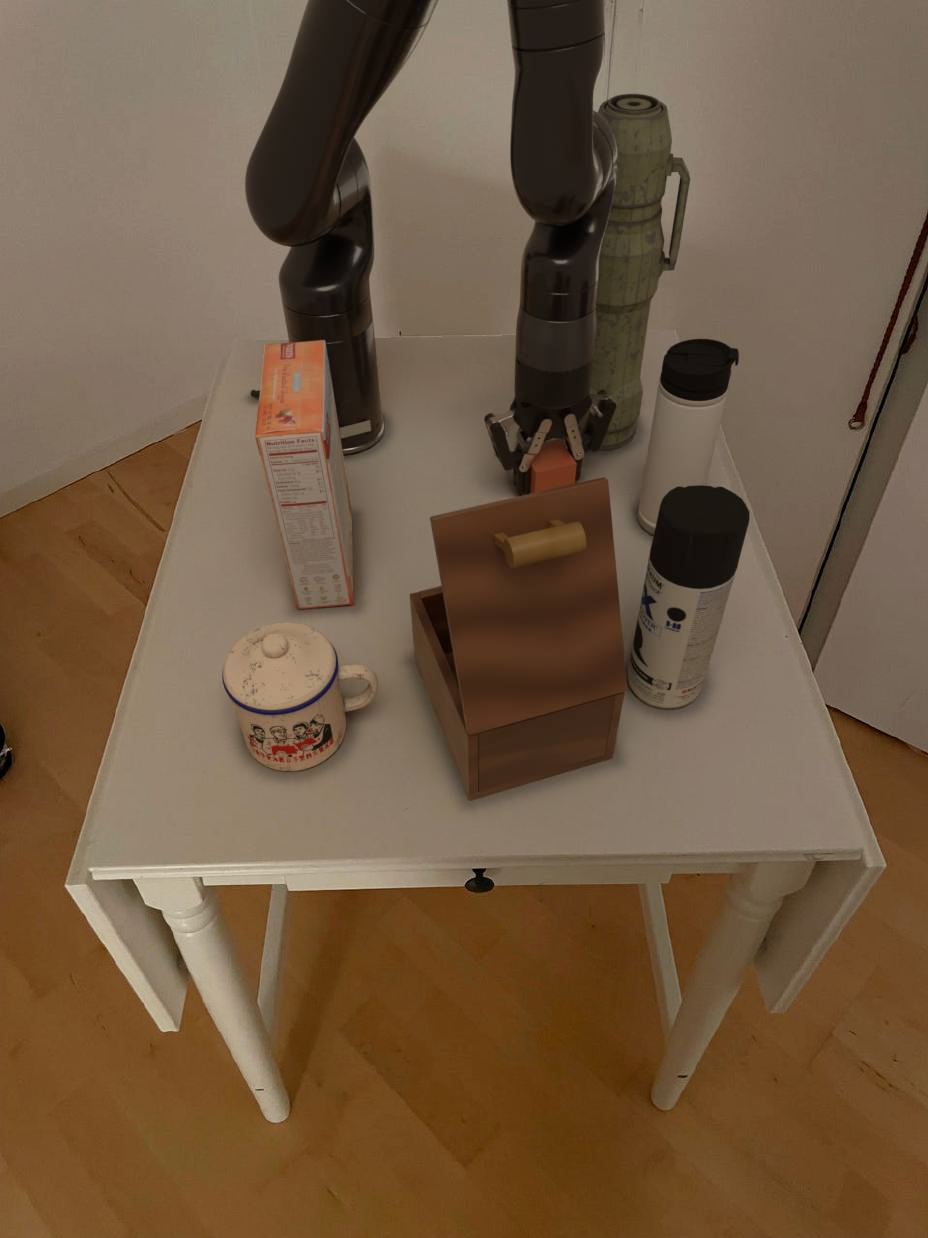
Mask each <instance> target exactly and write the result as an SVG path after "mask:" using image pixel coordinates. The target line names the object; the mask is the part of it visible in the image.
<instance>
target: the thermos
mask: <svg viewBox="0 0 928 1238" xmlns="http://www.w3.org/2000/svg"><path fill="white" fill-rule="evenodd" d="M597 112H598V113H599V114H600V115H602V116H603V117H604V118H605V119H606V120H607V122H608V123H609V124H610V126H611V127H612V129H613V131H614V134H615V137H616V140H617V145H618V155H619V162H618V174H617V181H616V187H615V192H614V197H613V201H612V206H611V210H610V215H609V219H608V223H607V227H606V231H605V235H604V239H603V243H602V248H601V254H600V270H599V283H598V293H597V303H596V319H597V329H596V344H595V350H594V360H593V370H592V380H591V389H590V392H589V393H590V394H597V393H598V392H599V391H600V390H606V392H607V393H608V394H609V395H610V397H611V398H612V399H613V401H614V402H615V403H616V405H617V406H616V409H615V412H614V414H613V417H612V419H611V422H610V424H609V427H608V429H607V432H606V434H605V437H604V439H603V442H602V444H601V447H600V449H599V450H598V451H601V452H602V451H604V452H605V451H612V450H618V449H620V448H622V447H625V446H627V445H628V444H629V443H630V442H631V441H633V439H634V437H635V435H636V432H637V421H638V419H639V416H640V415H641V407H642V401H643V396H644V395H643V394H644V391H643V382H642V379H641V374H642V366H643V359H644V352H645V346H646V340H647V339H646V338H647V332H648V323H649V318H650V311H651V310H650V309H651V304H652V303H651V302H652V300H653V298H654V296H655V294H656V292H657V291H658V288H659V287H658V286H659V279H660V278H661V277H662V275H663V273H664V272H666V271H667V272H669V271H675V268H676V264H677V261H678V258H679V257H678V256H679V252H680V245H681V241H682V233H683V229H684V228H683V226H684V221H685V214H686V208H687V202H688V195H689V190H690V184H691V177H690V176H691V175H690V171H689V169H688V167H687V165H686V163H685V160H684V158H683V157H678V156H677V157H675V156H674V153H671V152H672V151H671V150H672V143H673V137H672V130H671V129H672V128H671V123H670V118H669V117H670V116H669V111H668V107H667V105H666V104H665V103H664V102H663V101H660V100H659V99H658V98H657V97H654V96H652V95H648V94H643V93H623V94H618V95H614V96H612V97H610V98H609V99H606V100H605V101H603V102H602V103H601V104H600V105H599V108H598V111H597ZM673 173H678V175H679V183H678V188H677V189H678V190H677V194H676V195H677V196H676V203H675V210H674V215H673V221H672V229H671V235H670V242H669V249H668V250H669V251H668V257H666V254H665V251H664V246H665V237H664V231H663V226H662V215H663V206H662V202H663V201H662V199H663V198H664V196H665V194H666V187H667V181H668V177H672V174H673ZM589 413H590V410H588V411H587V413H586V414H585V415H584V417H583V418H582V419H581V420H580V422H579V423H578V424H577V425H578V429H579V432H580V435H581V434H582V431H583V429H584V426H585V423H586V421H587V418H588V415H589Z"/></svg>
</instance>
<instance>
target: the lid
mask: <svg viewBox="0 0 928 1238" xmlns="http://www.w3.org/2000/svg"><path fill="white" fill-rule="evenodd" d="M611 506H612V505H611V494H610V484H609V479H608V478H607V477H605V476H601V477H596V478H593V479H588V480H585V481H584V480H583V481H579V482H576V483H575V484H571V485H566V486H562V487H557V488H553V489H549V490H544V491H540V492H536V493H531V494H527V495H523V496H522V495H518V496H514V497H511V498H505V499H501V500H497V501H492V502H488V503H484V504H480V505H475V506H470V507H466V508H462V509H457V510H453V511H449V512H445V513H440V514H436V515H432V516H430V517H429V522H430V528H431V532H432V533H431V534H432V538H433V545H434V551H435V555H436V562H437V568H438V574H439V580H440V586H442V592H443V597H444V603H445V609H446V615H447V621H448V627H449V632H450V638H451V644H452V650H453V656H454V661H455V667H456V673H457V679H458V685H459V690H460V696H461V702H462V708H463V714H464V720H465V725H466V731H467V732H468V734H469V735H473V734H476V733H480V732H483V731H487V730H491V729H494V728H498V727H501V726H505V725H508V724H512V723H515V722H519V721H522V720H526V719H530V718H533V717H537V716H540V715H544V714H547V713H551V712H554V711H558V710H561V709H565V708H568V707H572V706H576V705H579V704H583V703H586V702H590V701H593V700H597V699H600V698H604V697H607V696H611V695H614V694H618V693H622V692H624V693H625V692H627V691H628V682H627V681H628V680H627V671H626V660H625V650H624V639H623V628H622V626H623V625H622V617H621V616H622V615H621V605H620V595H619V583H618V573H617V562H616V561H617V560H616V549H615V539H614V529H613V518H612V517H613V516H612V510H611V509H612V507H611Z"/></svg>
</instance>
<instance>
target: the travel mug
mask: <svg viewBox="0 0 928 1238" xmlns="http://www.w3.org/2000/svg"><path fill="white" fill-rule="evenodd" d="M739 353H740V352H739V349H738V348H736V347H731V346H729V345H728V344H726V343H725V342H723V341H720V340H715V339H711V338H693V339H687V340H683V341H679V342H677V343H674V344H673V345H672V346H670V347H669V348H668V350H666V353H665V354H664V356H663V360H662V367H661V372H660V375H659V380H658V386H657V392H656V393H657V394H656V398H655V404H654V409H653V410H654V411H653V418H652V423H651V428H650V434H649V435H650V436H649V441H648V447H647V453H646V460H645V464H644V465H645V466H644V472H643V478H642V485H641V491H640V497H639V504H638V509H637V521H638V523H639V525H640V527H641V528H642V529H643V530H644V531H645V532H646V533H648V534H651V535H652V536H654V532H655V527H656V523H657V518H658V513H659V508H660V504H661V501H662V499H663V498H664V496H665V495H666V494H667V493H668V492H669V491H670V490H672V489H674V488H676V487H677V486H682V487H684V488H685V487H687V486H697V485H703V486H707V483H708V480H709V476H710V475H709V474H710V472H711V471H710V470H711V466H712V462H713V458H714V453H715V449H716V444H717V440H718V435H719V431H720V427H721V423H722V417H723V414H724V409H725V405H726V400H727V395H728V392H729V386H730V380H731V376H732V367H733V364H734V366H736V367H737V366H738V365H739V361H740V360H739V359H740V354H739Z"/></svg>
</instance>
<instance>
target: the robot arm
mask: <svg viewBox="0 0 928 1238" xmlns="http://www.w3.org/2000/svg"><path fill="white" fill-rule="evenodd" d="M439 1H440V0H307V2H306V6H305V8H304V12H303V15H302V18H301V21H300V23H299V24H300V25H299V27H298V31H297V34H296V37H295V41H294V44H293V47H292V51H291V55H290V59H289V62H288V65H287V68H286V70H285V75H284V78H283V80H282V83H281V85H280V86H281V87H280V89H279V91H278V93H277V95H276V99H275V100H274V103H273V105H272V107H271V110H270V112H269V115H268V116H267V119H266V121H265V123H264V126H263V127H262V130H261V132H260V134H259V136H258V138H257V141H256V143H255V145H254V147H253V149H252V151H251V154H250V157H249V160H248V162H247V165H246V170H245V176H244V177H245V178H244V191H245V199H246V204H247V207H248V211H249V214H250V215H251V218H252V220H253V223H254V224H255V225H256V227H257V228H258V230H259V231H260V232H261V233H262V235H264V237H266V238H267V239H268V240H270V242H273V243H274V244H278V245H281V246H282V247H289V250H288V252H287V255H286V256H285V258H284V260H283V262H282V264H281V266H280V268H279V272H278V287H279V292H280V299H281V305H282V309H283V310H282V311H283V314H284V321H285V326H286V332H287V338H288V343H295V342H306V341H318V340H325V343H326V349H327V355H328V361H329V367H330V373H331V380H332V386H333V393H334V399H335V406H336V412H337V419H338V425H339V432H340V438H341V445H342V451H343V455H351V454H356V453H359V452H362V451H363V452H364V451H365V450H367V449H369V448H371V447H373V446H375V444H377V443H378V442H379V441H380V440H381V438H382V437H383V435H384V432H385V422H384V418H383V410H382V409H383V408H382V398H381V397H382V395H381V387H380V378H379V368H378V367H379V366H378V356H377V348H376V337H375V327H374V317H373V308H372V296H371V286H370V285H371V284H370V277H371V273H372V270H373V266H374V261H375V234H374V233H375V232H374V228H375V227H374V212H373V211H374V209H373V208H374V207H373V205H374V204H373V190H372V183H371V175H370V170H369V167H368V163H367V160H366V157H365V154H364V152H363V150H362V147H361V145H360V144H359V142H358V141H357V139H356V138H355V137H356V135H357V133H358V131H359V129H360V127H361V126H362V124H363V123H364V121H365V120H366V118H367V117H368V115H369V114H370V113H371V111H372V110H373V109H374V108H375V106H376V105H377V103H378V102H379V101H380V99H381V98H382V97H383V95H384V94H385V93H386V92H387V90H388V89H389V87H390V86H391V85H392V84H393V82H394V81H395V79H396V77H398V75H399V73H400V72H401V70H402V69H403V68H404V67H405V65H406V63H408V61H409V59H410V57H411V56H412V54H413V53H414V51H415V50H416V48H417V46H418V45H419V43H420V41H421V39H422V37H423V36H424V34H425V31H426V30H427V27H428V25H429V23H430V21H431V20H432V16H433V15H434V12H435V11H436V8H437V5H438V4H439ZM506 4H507V13H508V14H507V16H508V23H509V25H508V26H509V33H510V44H511V52H512V59H513V60H512V61H513V67H514V79H513V80H514V81H513V91H512V101H511V116H510V117H511V120H510V139H509V140H510V141H509V142H510V143H509V162H510V163H509V165H510V175H511V180H512V185H513V189H514V191H515V195H516V197H517V200H518V202H519V204H520V206H521V207H522V209H523V210H524V211H525V213H526V214H527V215H528V216H529V217H530V218H531V219H532V220H533V221H534V223H533V227H532V228H533V229H532V231H531V233H530V235H529V237H528V239H527V241H526V243H525V245H524V247H523V251H522V256H521V263H520V285H519V286H520V288H519V294H520V295H519V306H518V312H517V318H516V325H515V327H516V328H515V351H514V352H515V357H514V385H513V386H514V387H513V388H514V396H513V397H514V398H513V400H512V402H511V404H510V406H509V410H507V411H505V412H503V413H501V414H499V415H496V414H495V413H493V412H489V413H487V414H486V415H485V416H484V419H483V421H484V424H485V427H486V430H487V433H488V436H489V439H490V442H491V444H492V449H493V452H494V455H495V456H496V458H497V459H498V461H499V462H500V464H501V467H502V469H503V470H504V471H505V472H509V471H511V470H512V484H513V486H514V488H515V490H516V491H517V493H518V494H519V495H521V496H523V495H527V494H530V489H531V469H530V466H531V463H532V461H533V459H534V456H535V455H537V454H538V453H539V451H540V448H541V446H542V443H543V442H547V441H551V440H554V439H563V443H564V445H565V447H566V448H567V450H568V451H569V453H570V454H571V456H572V457H573V459H574V460H575V462H576V463H577V466H576V476H575V483H577V481H579V480H580V478H581V474H582V473H581V472H582V464H583V458H584V457H585V455H586V453H588V452H590V451H591V452H597V451H600V450H599V449H600V447H601V444H602V442H603V439H604V437H605V434H606V432H607V429H608V427H609V424H610V422H611V419H612V417H613V414H614V412H615V409H616V406H617V405H616V403H615V402H614V401H613V399H612V398H611V397H610V395H609V394H608V393H607V392H606V390H600V391H599V392H598V393H597V394H590V393H589V392H590V389H591V380H592V370H593V360H594V350H595V344H596V329H597V319H596V303H597V293H598V283H599V270H600V254H601V248H602V243H603V239H604V235H605V231H606V227H607V223H608V219H609V215H610V210H611V206H612V201H613V197H614V192H615V187H616V181H617V174H618V162H619V155H618V145H617V140H616V137H615V134H614V131H613V129H612V127H611V126H610V124H609V123H608V122H607V120H606V119H605V118H604V117H603V116H602V115H600V114H599V113H598V111H596V110H594V96H595V90H596V86H597V83H598V80H599V78H600V75H601V73H602V71H603V68H604V63H605V56H606V25H605V24H606V23H605V0H506ZM250 396H251V397H253V398H256V399H258V398H260V389H258V390H255V389H252V390H251V391H250ZM588 410H590V413H589V415H588V418H587V421H586V423H585V426H584V429H583V431H582V434H581V435H580V432H579V429H578V425H577V424H578V423H579V422H580V420H581V419H582V418H583V417H584V415H585V414H586V413H587V411H588ZM514 423H515V424H516V425H517V426H518V428H517V431H516V435H515V436H516V437H515V438H516V441H515V444H514V446H513V449H512V450H511V449H510V446H509V442H508V439H507V438H509V437H510V433H511V427H512V425H513V424H514Z"/></svg>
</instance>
